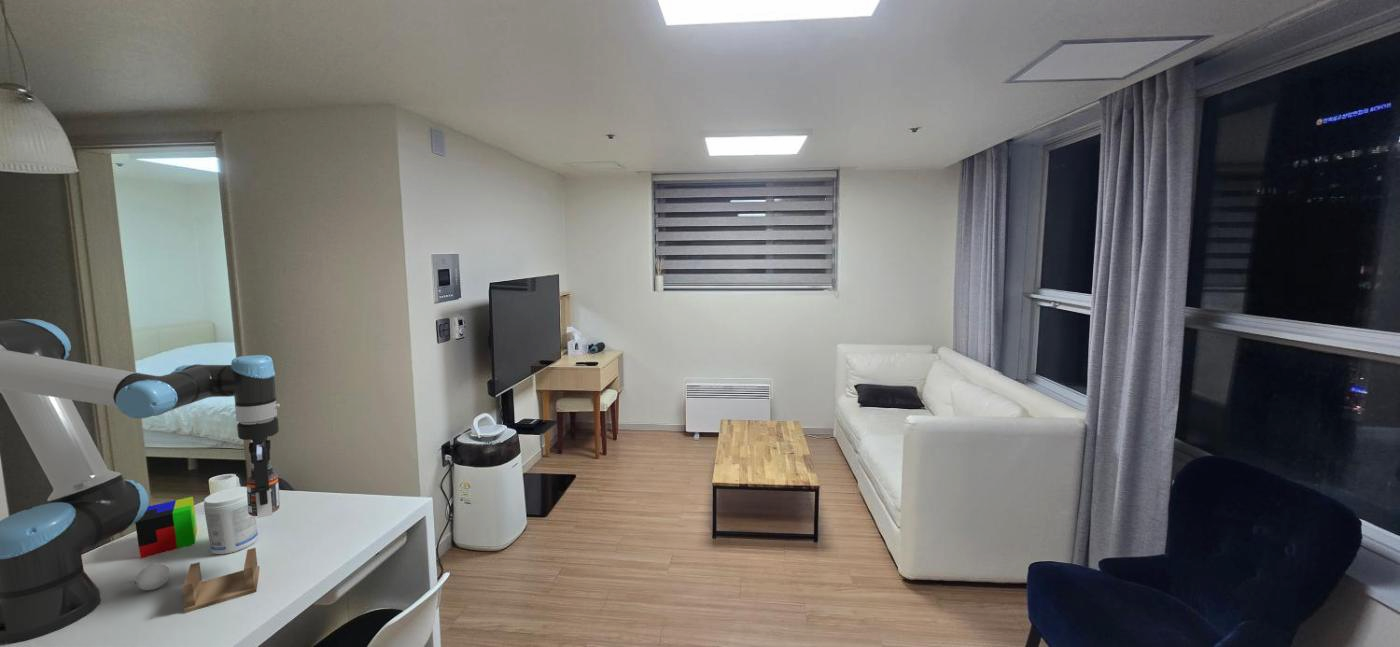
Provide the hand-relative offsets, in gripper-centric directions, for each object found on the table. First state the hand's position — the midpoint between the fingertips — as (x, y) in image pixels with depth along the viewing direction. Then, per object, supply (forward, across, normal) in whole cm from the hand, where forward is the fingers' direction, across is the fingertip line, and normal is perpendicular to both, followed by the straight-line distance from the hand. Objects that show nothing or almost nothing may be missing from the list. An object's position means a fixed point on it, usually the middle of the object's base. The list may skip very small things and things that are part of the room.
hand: (265, 510), depth 127 cm
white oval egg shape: (+16, +7, +22) cm, 28 cm away
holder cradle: (+15, -4, +8) cm, 18 cm away
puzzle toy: (+16, +31, +21) cm, 41 cm away
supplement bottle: (0, 0, 0) cm, 1 cm away
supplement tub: (+16, +18, +8) cm, 25 cm away
